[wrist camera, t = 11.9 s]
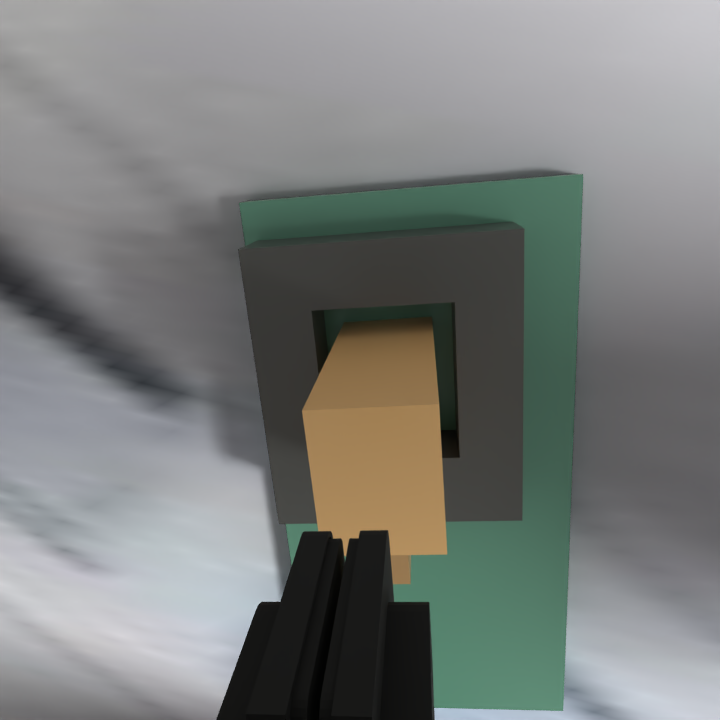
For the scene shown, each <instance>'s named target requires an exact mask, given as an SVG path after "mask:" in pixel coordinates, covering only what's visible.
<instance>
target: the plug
mask: <svg viewBox="0 0 720 720" xmlns="http://www.w3.org/2000/svg"><path fill="white" fill-rule="evenodd" d="M302 414H303V421H304V429H305V436H306V444H307V451H308V458H309V466H310V473H311V480H312V488H313V495H314V503H315V510H316V517H317V525H318V531H331V532H332V535H333V539H336V538H341V539H342V541H343V549H344V556H346V553H347V548H348V542H349V539H350V538H359V533H360V531H362V530H388V532H389V541H390V554H391V567H392V579H393V584H411V555H447V539H446V521H445V502H444V484H443V465H442V446H441V428H440V409H439V395H438V383H437V371H436V359H435V347H434V336H433V324H432V317H418V318H402V319H387V320H372V321H357V322H344V323H343V326H342V328H341V330H340V332H339V334H338V336H337V338H336V340H335V342H334V345H333V347H332V349H331V351H330V353H329V355H328V357H327V359H326V361H325V363H324V366H323V368H322V370H321V372H320V374H319V376H318V378H317V380H316V382H315V384H314V387H313V389H312V391H311V393H310V395H309V397H308V399H307V401H306V403H305V405H304V408H303V410H302Z"/></svg>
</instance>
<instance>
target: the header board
mask: <svg viewBox="0 0 720 720" xmlns="http://www.w3.org/2000/svg"><path fill="white" fill-rule="evenodd" d="M582 193H583V174H567V175H555V176H543V177H531V178H519V179H507V180H495V181H483V182H471V183H459V184H447V185H435V186H423V187H411V188H399V189H387V190H375V191H363V192H351V193H338V194H326V195H314V196H302V197H290V198H278V199H266V200H254V201H246V202H241V203H239V206H240V212H241V219H242V226H243V233H244V240H245V246H244V247H242V248H240V249H238V251H239V258H240V265H241V271H242V278H243V285H244V292H245V298H246V305H247V312H248V319H249V325H250V332H251V339H252V345H253V352H254V359H255V366H256V372H257V379H258V386H259V393H260V399H261V406H262V413H263V419H264V426H265V433H266V440H267V446H268V453H269V460H270V466H271V473H272V480H273V487H274V493H275V500H276V507H277V514H278V520H279V524H286V531H287V538H288V544H289V551H290V558H291V565H292V564H293V560H294V557H295V554H296V551H297V547H298V544H299V541H300V538H301V535H302V533H303V532H304V531H318V525H317V517H316V510H315V503H314V495H313V488H312V480H311V473H310V466H309V458H308V451H307V444H306V436H305V429H304V421H303V414H302V410H303V408H304V405H305V403H306V401H307V399H308V397H309V395H310V393H311V391H312V389H313V387H314V384H315V382H316V380H317V378H318V376H319V374H320V372H321V370H322V368H323V366H324V363H325V361H326V359H327V357H328V355H329V353H330V351H331V349H332V347H333V345H334V342H335V340H336V338H337V336H338V334H339V332H340V330H341V328H342V326H343V323H344V322H357V321H372V320H387V319H402V318H418V317H432V324H433V336H434V347H435V359H436V371H437V383H438V395H439V409H440V428H441V446H442V465H443V484H444V502H445V521H446V539H447V555H411V584H393V592H394V602H429V604H430V621H431V639H432V661H433V688H434V708H468V709H509V710H550V711H563V699H564V673H565V646H566V619H567V593H568V566H569V539H570V513H571V486H572V459H573V433H574V406H575V379H576V353H577V326H578V299H579V273H580V246H581V219H582ZM344 558H345V559H346V556H344Z"/></svg>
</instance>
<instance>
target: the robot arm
mask: <svg viewBox="0 0 720 720" xmlns="http://www.w3.org/2000/svg"><path fill="white" fill-rule="evenodd" d="M216 720H435V719H434V688H433V661H432V639H431V621H430V604H429V602H394V592H393V579H392V567H391V554H390V541H389V532H388V530H362V531H360V533H359V538H350V539H349V542H348V548H347V553H346V559H345V558H344V549H343V541H342V539H341V538H336V539H333V535H332V532H331V531H304V532H303V533H302V535H301V538H300V541H299V544H298V547H297V551H296V554H295V557H294V560H293V564H292V567H291V570H290V573H289V576H288V580H287V583H286V586H285V589H284V592H283V596H282V599H281V602H261V603H260V604H259V605H258V607H257V609H256V611H255V614H254V617H253V620H252V622H251V625H250V628H249V631H248V634H247V636H246V639H245V642H244V645H243V647H242V650H241V653H240V656H239V658H238V661H237V664H236V667H235V670H234V672H233V675H232V678H231V681H230V683H229V686H228V689H227V692H226V695H225V697H224V700H223V703H222V706H221V708H220V711H219V714H218V717H217V719H216Z"/></svg>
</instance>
